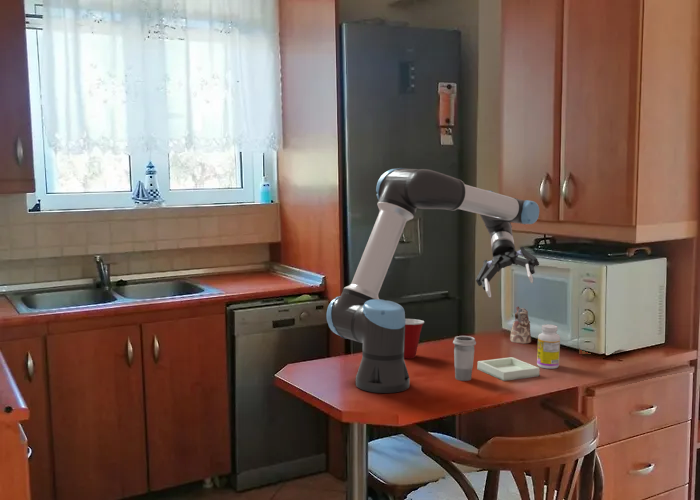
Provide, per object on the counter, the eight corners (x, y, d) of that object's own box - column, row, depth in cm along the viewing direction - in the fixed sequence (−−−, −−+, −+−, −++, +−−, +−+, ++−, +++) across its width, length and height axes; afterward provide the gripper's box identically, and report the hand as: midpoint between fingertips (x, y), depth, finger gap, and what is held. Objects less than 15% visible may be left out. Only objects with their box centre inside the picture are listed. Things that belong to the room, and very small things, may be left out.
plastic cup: (423, 352, 248) (424, 316, 246) (423, 361, 237) (424, 323, 235) (390, 351, 249) (391, 315, 247) (388, 359, 238) (389, 322, 236)
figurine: (516, 344, 261) (518, 310, 260) (506, 339, 268) (507, 306, 267) (534, 342, 264) (536, 309, 262) (523, 337, 270) (525, 305, 269)
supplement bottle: (537, 362, 238) (539, 322, 236) (559, 364, 236) (561, 324, 234) (535, 367, 232) (537, 327, 230) (557, 370, 229) (560, 329, 228)
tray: (503, 380, 217) (503, 372, 217) (477, 369, 229) (477, 361, 229) (539, 376, 223) (539, 367, 222) (511, 364, 234) (512, 357, 234)
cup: (472, 383, 215) (474, 342, 213) (449, 380, 217) (451, 339, 215) (476, 376, 221) (478, 336, 220) (453, 374, 223) (455, 334, 222)
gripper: (543, 243, 246) (553, 282, 228) (472, 269, 254) (476, 308, 236) (535, 225, 242) (544, 264, 225) (463, 252, 250) (466, 291, 233)
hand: (509, 287), depth 230 cm, fingers open, 13 cm apart
